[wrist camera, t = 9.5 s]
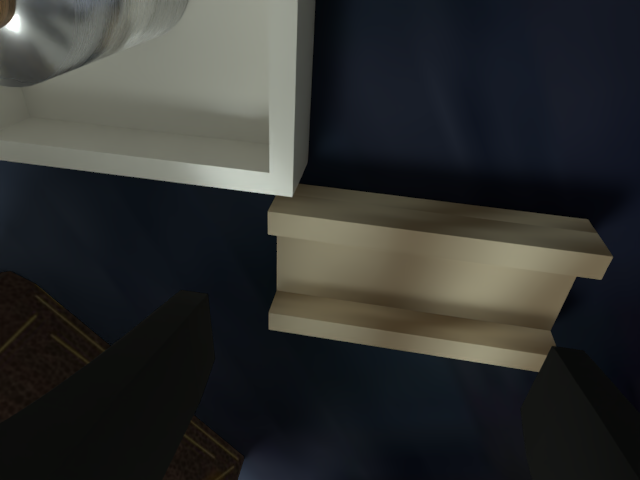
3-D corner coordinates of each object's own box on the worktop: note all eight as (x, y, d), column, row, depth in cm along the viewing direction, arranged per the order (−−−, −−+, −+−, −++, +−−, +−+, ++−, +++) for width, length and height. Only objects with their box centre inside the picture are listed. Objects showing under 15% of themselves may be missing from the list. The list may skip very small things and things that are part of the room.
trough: (588, 219, 17) (613, 256, 15) (536, 330, 21) (551, 373, 19) (282, 181, 18) (267, 211, 16) (281, 292, 22) (268, 329, 20)
